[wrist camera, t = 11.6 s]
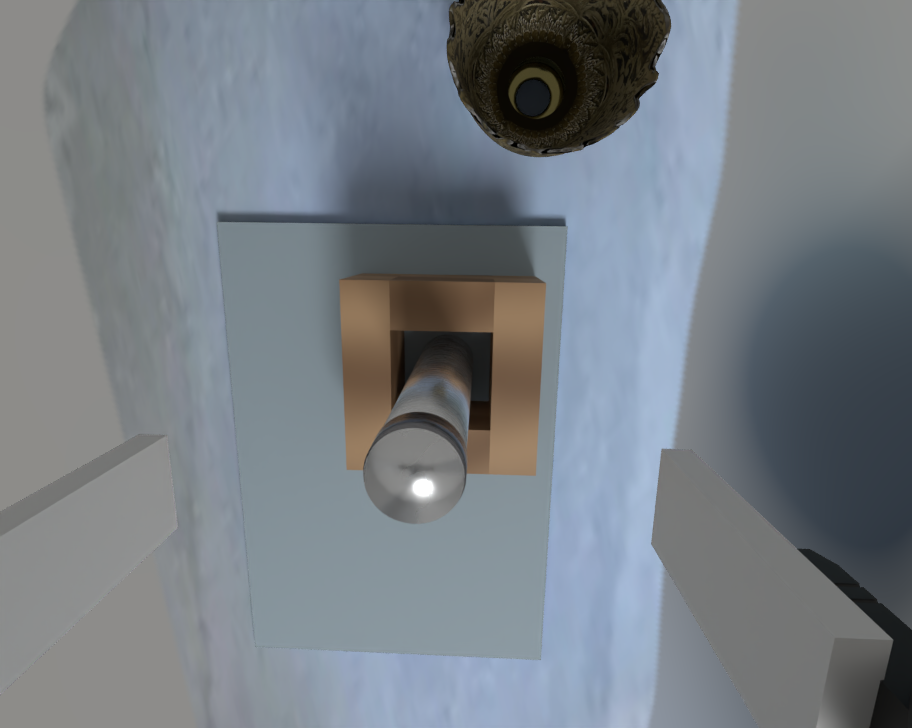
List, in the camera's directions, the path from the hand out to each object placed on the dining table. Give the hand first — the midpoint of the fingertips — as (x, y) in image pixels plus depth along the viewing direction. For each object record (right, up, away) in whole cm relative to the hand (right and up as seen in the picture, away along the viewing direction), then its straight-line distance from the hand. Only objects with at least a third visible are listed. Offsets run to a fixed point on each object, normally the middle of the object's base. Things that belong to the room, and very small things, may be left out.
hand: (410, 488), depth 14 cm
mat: (-2, -2, +16) cm, 16 cm away
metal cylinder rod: (+1, +4, +14) cm, 15 cm away
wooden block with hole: (+1, +4, +14) cm, 15 cm away
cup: (+5, +16, +11) cm, 21 cm away
